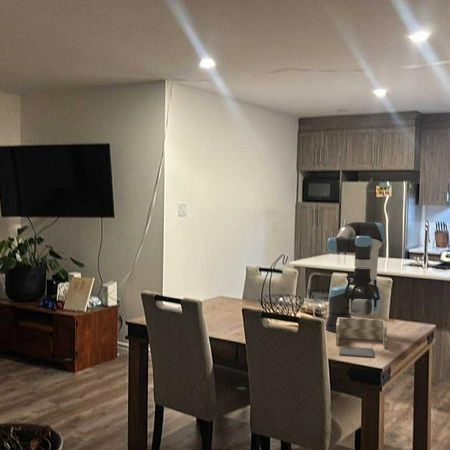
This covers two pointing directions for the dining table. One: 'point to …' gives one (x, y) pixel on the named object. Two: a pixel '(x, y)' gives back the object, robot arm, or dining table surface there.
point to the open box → (361, 329)
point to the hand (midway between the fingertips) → (361, 313)
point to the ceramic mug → (361, 307)
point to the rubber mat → (356, 351)
